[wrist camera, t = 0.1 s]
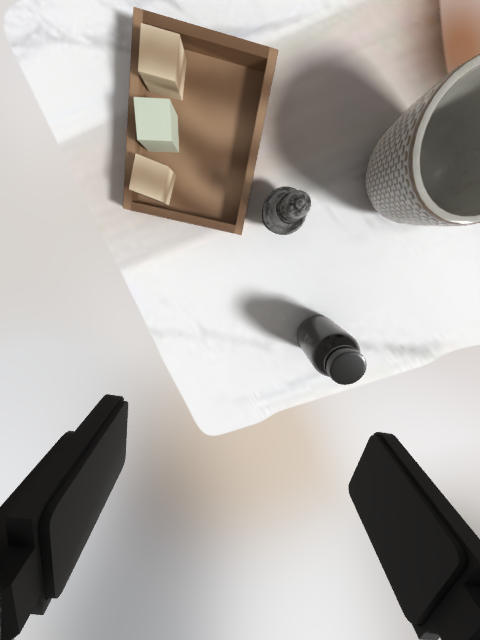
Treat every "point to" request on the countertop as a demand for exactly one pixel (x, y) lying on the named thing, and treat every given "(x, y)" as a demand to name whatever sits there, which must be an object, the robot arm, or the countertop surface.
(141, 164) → the cube
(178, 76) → the cube
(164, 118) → the cube
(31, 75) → the countertop surface
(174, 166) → the tray
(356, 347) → the supplement bottle
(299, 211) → the salt shaker
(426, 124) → the planter
